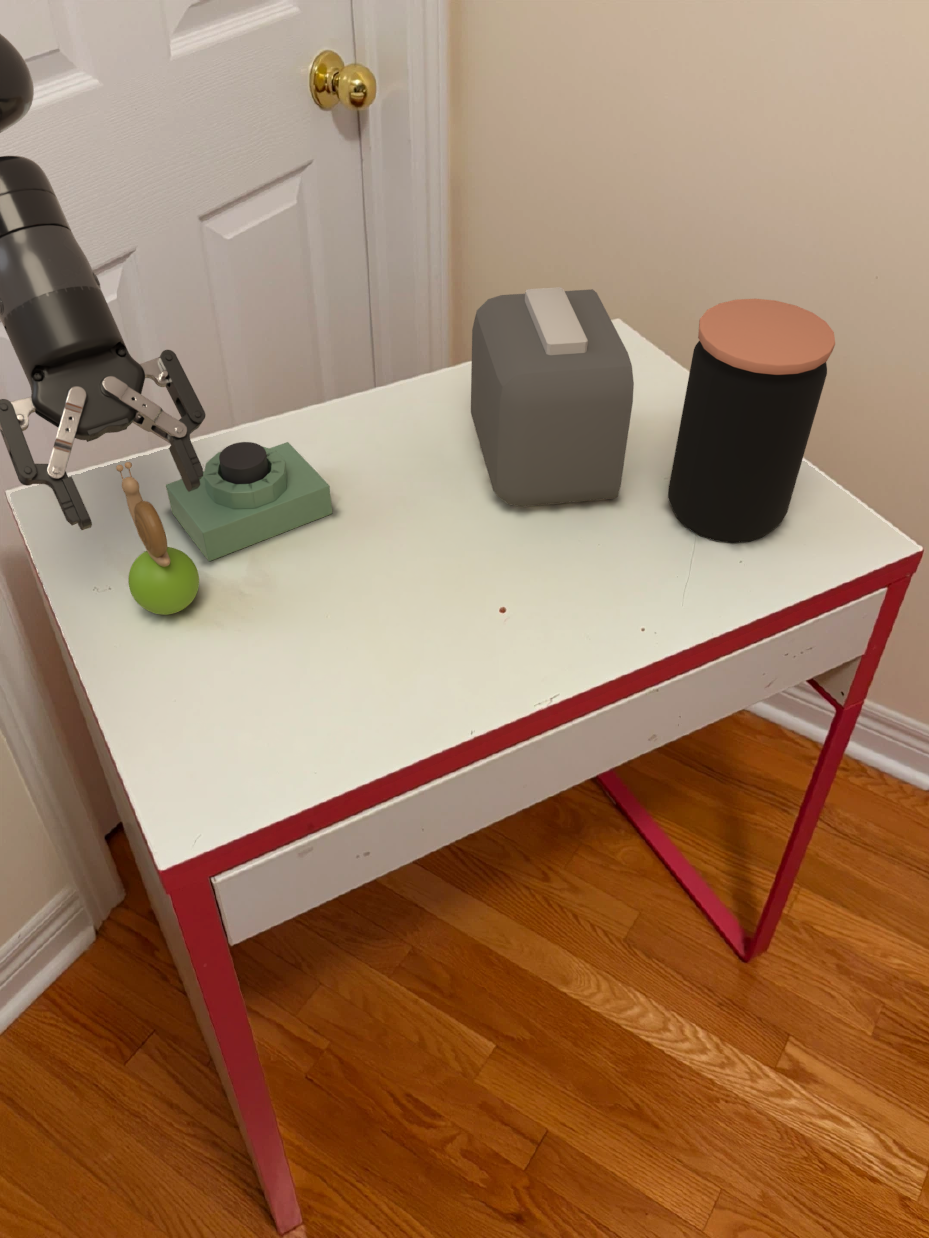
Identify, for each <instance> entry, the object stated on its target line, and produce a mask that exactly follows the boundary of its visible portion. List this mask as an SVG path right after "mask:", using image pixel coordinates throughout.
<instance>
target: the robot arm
mask: <svg viewBox="0 0 929 1238" xmlns="http://www.w3.org/2000/svg"><path fill="white" fill-rule="evenodd" d="M34 94H35V90H34V81H33V77H32V74H31V71H30V68H29V66H28V64H27V63H26V60H25V59H24V57H23V56H22V55H21V53H20V51H19V50H18V49H17V48H16V47H15V46H14V45H13V43H12V42H11V41H10V40H8V39H7V38H6V37H5V36H4V35H3V34H2V33H0V134H2V133H3V132H4V131H6V130H8V129H10V128H11V127H13V126H14V125H16V124H17V123H19V122H20V121H21V120H22V119H23V118H24V117H25V116H26V115H27V114H28V112H29V111H30V109H31V107H32V105H33V101H34V96H35V95H34ZM101 288H102V287H101V282H100V279H99V278H98V275H97V274H95V272H94V270H93V268H92V266H91V264H90V261H89V259H88V258H87V255H86V254H85V252H84V251H83V249H82V247H81V246H80V244H79V243H78V241H77V239H76V237H75V236H74V233H73V232H72V229H71V227H70V224H69V222H68V219H67V217H66V215H65V213H64V210H63V209H62V206H61V204H60V202H59V199H58V197H57V194H56V192H55V191H54V188H53V186H52V184H51V181H50V180H49V178H48V176H47V174H46V172H45V170H43V168H42V167H41V166H40V165H39V164H38V163H37V162H35V161H34V160H32V159H31V158H28V157H25V156H21V155H2V156H0V321H1V323H2V327H3V329H4V330H5V332H6V335H7V337H8V340H9V341H10V343H11V346H12V348H13V350H14V352H15V355H16V357H17V360H18V361H19V364H20V366H21V368H22V370H23V373H24V375H25V377H26V379H27V382H28V384H29V387H30V390H31V391H30V392H31V393H30V396H27V397H24V398H19V399H15V400H11V401H10V400H8V399H6V398H1V399H0V434H1V437H2V439H3V443H4V445H5V448H6V450H7V453H8V455H9V458H10V461H11V463H12V466H13V468H14V472H15V474H16V476H17V479H18V482H19V483H20V484H21V485H23V486H27V487H29V486H32V485H45V486H48V487H49V488H50V489H51V490H52V491H53V494H54V496H55V499H56V500H57V502H58V505H59V507H60V510H61V512H62V514H63V516H64V518H65V521H66V522H67V523H68V524H70V525H71V526H75V525H78V527H79V529H80V531H85V530H87V529H90V528H92V526H93V522H92V518H91V516H90V513H89V512H88V509H87V507H86V505H85V503H84V501H83V498H82V496H81V494H80V491H79V490H78V487H77V485H76V483H75V480H74V478H73V476H69V475H68V473H67V471H66V470H67V468H68V463H69V460H70V456H71V453H72V449H73V445H74V443H75V439H76V440H79V441H86V443H89V442H92V441H95V440H98V439H99V438H100V437H102V436H104V435H106V434H111V433H120V432H122V431H125V430H127V429H128V428H129V427H130V426H131V425H132V424H134V425H136V426H137V427H139V428H140V429H141V430H144V431H145V432H149V433H152V434H154V435H155V436H157V437H159V438H160V439H162V440H163V441H165V442H167V443H169V445H170V446H169V448H168V450H169V452H170V456H171V457H172V460H173V461H174V463H175V467H176V469H177V471H178V473H179V476H180V479H182V480H183V482H184V485H185V487H186V489H187V490H188V492H190V491H192V490H195V489H198V487H199V486H200V481H199V480H200V479H201V478H202V477H203V471H204V468H203V465H202V463H201V461H200V459H199V457H198V454H197V452H196V450H195V447H194V445H193V443H192V441H191V434H192V433H193V432H195V431H196V430H198V429H199V428H200V427H201V425H202V423H203V421H204V420H205V419H206V411H205V409H204V408H203V406H202V403H201V402H200V400H199V398H198V396H197V394H196V392H195V389H194V388H193V386H192V383H191V382H190V380H189V378H188V376H187V374H186V372H185V370H184V368H183V366H182V364H181V362H180V360H179V358H178V356H177V354H176V353H175V351H173V350H171V349H164V350H163V351H161V353H160V355H159V356H157V357H155V358H152V359H150V360H148V361H144V362H141V363H139V362H138V361H136V359H134V358H133V357H132V355H131V354H130V352H129V350H128V347H127V346H126V343H125V341H124V338H123V337H122V334H121V331H120V330H119V327H118V325H117V323H116V320H115V318H114V316H113V313H112V311H111V308H110V307H109V305H108V302H107V300H106V297H105V296H104V293H103V291H102V289H101ZM146 379H150V380H152V381H153V382H154V383H155V384H156V385H157V387H160V388H165V389H166V390H167V392H168V394H169V396H170V398H171V400H172V402H173V404H174V406H175V408H176V410H177V412H178V414H179V416H180V419H177V418H176V417H174V416H172V415H170V414H169V413H167V412H166V411H165V410H163V408H162V406H160V405H158V404H157V403H155V402H154V401H152V400H151V399H149V398H147V397H146V396H144V395H142V394H143V393H142V392H143V388H144V386H145V385H144V384H145V380H146ZM33 413H35V414H36V415H37V416H38V417H40V418H42V420H45V421H47V422H48V423H50V424H51V425H53V426H54V427H56V428H57V432H56V435H55V439H54V443H53V448H52V450H51V454H50V457H49V460H48V463H35V461H34V458H33V456H32V452H31V450H30V448H29V445H28V443H27V442H28V441H27V440H26V437H25V434H24V432H25V431H26V430H28V428H29V426H30V416H31V414H33Z"/></svg>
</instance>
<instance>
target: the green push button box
mask: <svg viewBox="0 0 929 1238" xmlns="http://www.w3.org/2000/svg"><path fill="white" fill-rule="evenodd" d="M261 446H262V447H263V448H264V449H265V451H266V455H267V461H268V468H269V471H268V474H267V475H266V477H264V478H263V479H262V480H259V481H256V482H254V483H251V484H233V483H230V482H227V481H226V480H225V479H224V478H223V476H222V472H221V466H220V461H219V455H220V453H221V451H217V453H216V454H214V455H213V456H212V457H211V458H210V459H209V460H208V461H206V462H205V466H204V470H203V477H202V478H201V479H200V480H199V481H200V486H199V487H198V489H195V490H192V491H190V492H188V490H187V489H186V487H185V485H184V482H183V480H182V478H180V479H179V480H175V481H172V482H169V483H167V484H165V489H166V493H167V497H168V501H169V506H170V510H171V514H172V515H173V516H174V517H175V519H176V520H177V521H178V523H179V524H180V525H181V527H182V528H183V530H184V531H185V532H186V533H187V535H188V536H189V538H190V539H191V540H192V541H193V543H194V544H195V546H196V547H197V548H198V550H199V551H200V552H201V554H202V555H203V557H205V559H206V560H207V562H212V561H214V560H217V559H219V558H222V557H225V556H227V555H230V554H232V553H235V552H237V551H241V550H243V549H245V548H247V547H250V546H253V545H255V544H258V543H260V542H263V541H266V540H268V539H271V538H274V537H276V536H278V535H281V534H284V533H286V532H289V531H291V530H294V529H296V528H299V527H301V526H302V527H303V526H304V525H306V524H310V523H312V522H314V521H317V520H320V519H322V518H325V517H327V516H330V515H332V514H333V507H332V497H331V488H330V484H329V483H328V482H327V481H326V480H325V479H324V478H323V477H322V476H321V475H320V474H319V473H318V472H317V470H315V469H314V467H313V466H312V465H311V464H310V463H309V462H308V461H307V460H306V459H305V458H304V457H303V455H301V454H300V453H299V452H298V451H297V449H296V448H294V446H292V444H291V443H290V442H289V441H287V442H284V443H281V444H278V445H275V446H272V447H267V446H263V445H261Z"/></svg>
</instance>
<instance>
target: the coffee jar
mask: <svg viewBox="0 0 929 1238" xmlns="http://www.w3.org/2000/svg"><path fill="white" fill-rule="evenodd" d="M697 333H698V334H697V339H698V342H697V343H696V344H695V345H694V348H693V352H692V357H691V362H690V368H689V373H688V380H687V383H686V384H687V385H686V390H685V394H684V400H683V406H682V412H681V417H680V422H679V429H678V433H677V439H676V445H675V450H674V455H673V459H672V460H673V461H672V465H671V472H670V476H669V482H668V490H667V491H668V492H667V499H668V502H669V504H670V507H671V509H672V511H673V513H674V514H675V516H676V518H677V520H678V521H679V522H680V523H681V524H682V525H683V526H684V527H685V528H686V529H688V530H689V531H691V532H693V533H695V534H696V535H698V536H699V537H703V538H706V539H709V540H712V541H716V542H722V543H730V544H737V543H738V544H739V543H749V542H752V541H755V540H758V539H761V538H764V537H765V536H766V535H768V534H770V533H771V532H772V531H773V530H775V529H776V528H777V527H779V526H780V525H781V524H782V523H783V521H784V519H785V518H786V515H787V514H788V512H789V508H790V504H791V501H792V497H793V493H794V490H795V486H796V484H797V480H798V476H799V473H800V469H801V465H802V462H803V459H804V455H805V452H806V449H807V445H808V441H809V438H810V435H811V432H812V427H813V425H814V421H815V417H816V413H817V410H818V407H819V403H820V400H821V396H822V393H823V389H824V387H825V386H824V385H825V384H826V383H825V382H826V379H827V376H828V364H827V362H828V361H829V358H830V357H831V355H832V353H833V351H834V348H835V346H836V339H835V332H834V330H833V329H832V327H831V326H830V325H829V323H828V322H827V321H826V320H824V319H823V318H821V317H820V316H818V315H817V314H815V313H814V312H813V311H810V310H807V309H805V308H803V307H800V306H798V305H795V304H791V303H787V302H783V301H779V300H774V299H764V298H739V299H738V298H737V299H732V300H728V301H724V302H720V303H718V304H715V305H714V306H712V307H710V308H708V309H706V311H705V312H704V313H703V314H702V315H701V316H700V318H699V321H698V332H697Z"/></svg>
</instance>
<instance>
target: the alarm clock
mask: <svg viewBox="0 0 929 1238" xmlns="http://www.w3.org/2000/svg"><path fill="white" fill-rule="evenodd" d="M608 313H609V312H607V309H606V308H605V306H604V304H603V302H602V300H601V298H600V296H599V294H598V292H597V291H595V290H594V289H593V288H592V289H591V288H590V289H578V290H577V289H576V290H575V289H573V290H565V289H564V288H563V287H561V286H559V287H558V286H557V287H542V288H527V289H526V290H525V292H524V293H513V294H510V293H509V294H500V295H497V296H494V297H491V298H488V299H487V300H485V301H484V303H482V304H481V306H480V307H479V308H477V309H476V312H475V315H474V320H473V324H472V329H471V372H470V373H471V374H470V375H471V377H470V384H471V385H470V415H471V418H472V422H473V425H474V429H475V433H476V436H477V440H478V442H479V446H480V450H481V454H482V457H483V460H484V464H485V468H486V471H487V475H488V478H489V481H490V485H491V488H492V491H493V492H494V494H495V495H496V496H497V497H498V498H499V499H500V500H502V501H503V502H505V503H506V504H507V505H508V506H515V507H523V508H525V507H535V506H548V505H557V504H558V505H559V504H569V503H579V502H580V503H582V502H593V501H602V500H613V499H616V498H618V497H619V494H620V491H621V487H622V480H623V473H624V467H625V466H624V465H625V458H626V453H627V445H628V438H629V430H630V424H631V417H632V411H633V410H632V409H633V404H634V387H635V386H634V385H635V383H634V373H633V365H632V362H631V359H630V356H629V352H628V350H627V348H626V346H625V344H624V342H623V340H622V338H621V336H620V334H619V333H618V330H617V329H616V328H615V327H616V326H615V325H614V323H613V321H612V320H611V317H610V315H609V314H608Z"/></svg>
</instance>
